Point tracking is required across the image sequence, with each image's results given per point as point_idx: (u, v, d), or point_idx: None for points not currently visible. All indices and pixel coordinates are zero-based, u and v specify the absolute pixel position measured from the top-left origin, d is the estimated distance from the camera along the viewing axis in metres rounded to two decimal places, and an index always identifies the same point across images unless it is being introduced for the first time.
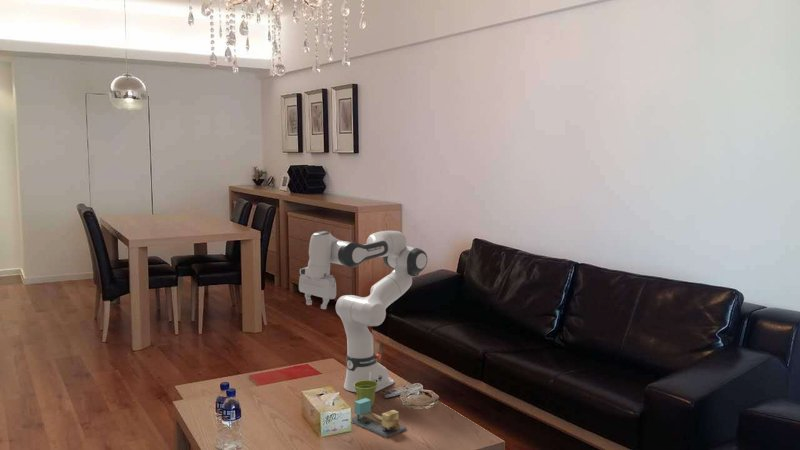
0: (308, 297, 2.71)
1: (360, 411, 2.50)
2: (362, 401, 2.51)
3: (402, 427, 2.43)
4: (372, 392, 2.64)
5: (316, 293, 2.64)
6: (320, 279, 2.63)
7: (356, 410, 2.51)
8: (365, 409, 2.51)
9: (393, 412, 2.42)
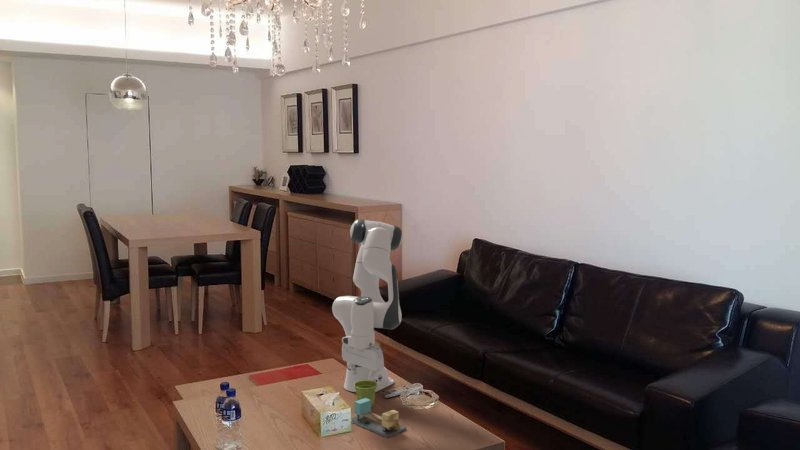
0: (353, 366, 2.54)
1: (360, 411, 2.50)
2: (362, 401, 2.51)
3: (402, 427, 2.43)
4: (372, 392, 2.64)
5: (362, 364, 2.48)
6: (365, 350, 2.46)
7: (356, 410, 2.51)
8: (365, 409, 2.51)
9: (393, 412, 2.42)
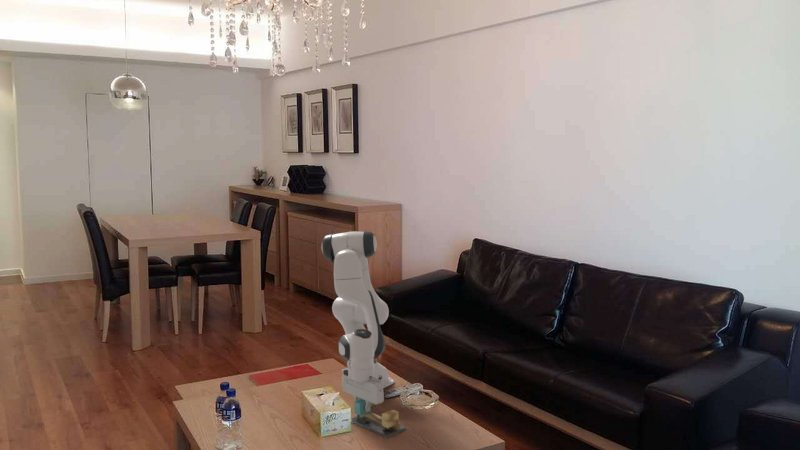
0: (357, 399, 2.54)
1: (360, 411, 2.50)
2: (362, 401, 2.51)
3: (402, 427, 2.43)
4: None
5: (362, 396, 2.49)
6: (365, 382, 2.47)
7: (356, 410, 2.51)
8: None
9: (393, 412, 2.42)
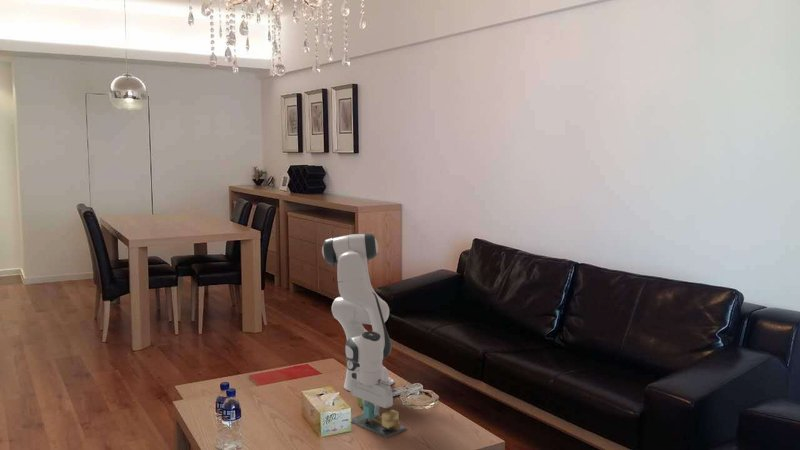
0: (366, 403, 2.51)
1: (368, 414, 2.46)
2: (371, 405, 2.48)
3: (402, 427, 2.43)
4: None
5: (370, 400, 2.46)
6: (374, 386, 2.44)
7: (365, 414, 2.47)
8: None
9: (393, 412, 2.42)
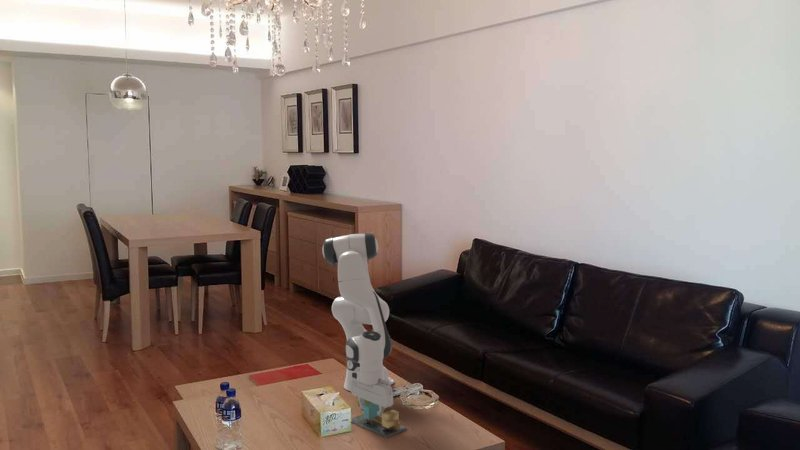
0: (362, 400, 2.52)
1: (369, 414, 2.46)
2: (371, 405, 2.48)
3: (402, 427, 2.43)
4: None
5: (371, 399, 2.46)
6: (374, 385, 2.44)
7: (365, 414, 2.47)
8: (374, 413, 2.48)
9: (393, 412, 2.42)
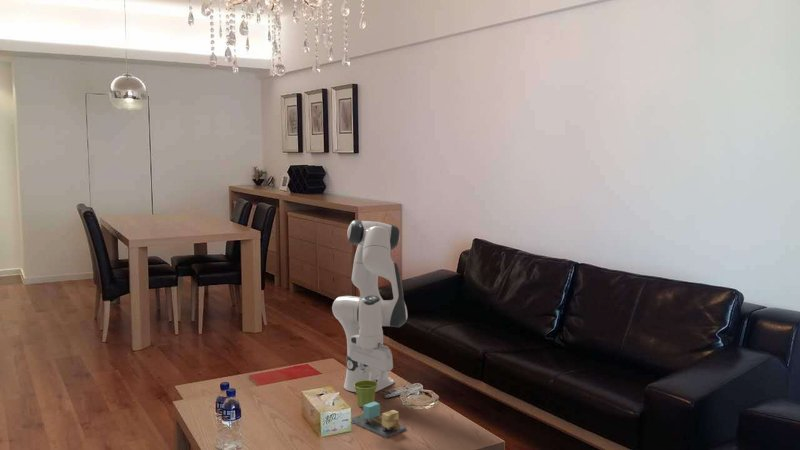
0: (361, 365, 2.51)
1: (369, 414, 2.46)
2: (371, 405, 2.48)
3: (402, 427, 2.43)
4: (372, 392, 2.64)
5: (370, 364, 2.44)
6: (374, 350, 2.42)
7: (365, 414, 2.47)
8: (374, 413, 2.48)
9: (393, 412, 2.42)
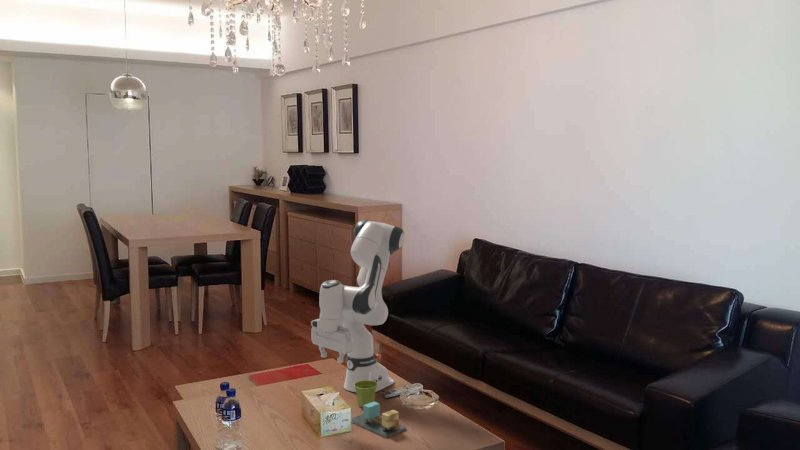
0: (322, 349, 2.56)
1: (369, 414, 2.46)
2: (371, 405, 2.48)
3: (402, 427, 2.43)
4: (372, 392, 2.64)
5: (331, 346, 2.50)
6: (334, 332, 2.48)
7: (365, 414, 2.47)
8: (374, 413, 2.48)
9: (393, 412, 2.42)
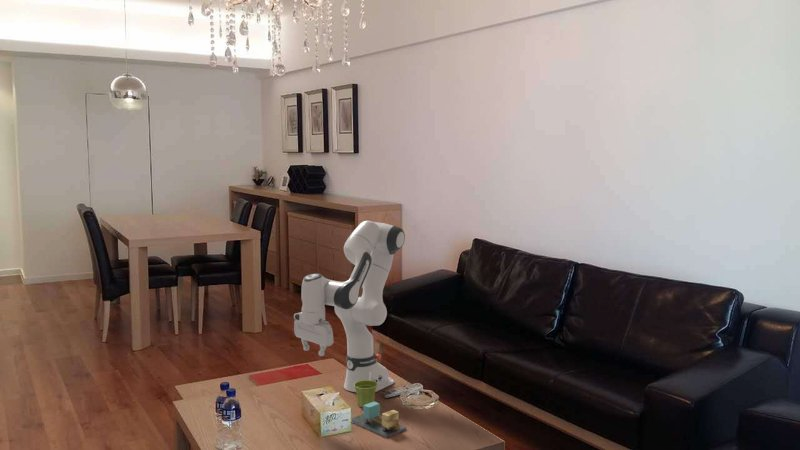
0: (305, 342, 2.59)
1: (369, 414, 2.46)
2: (371, 405, 2.48)
3: (402, 427, 2.43)
4: (372, 392, 2.64)
5: (312, 339, 2.52)
6: (315, 325, 2.50)
7: (365, 414, 2.47)
8: (374, 413, 2.48)
9: (393, 412, 2.42)
